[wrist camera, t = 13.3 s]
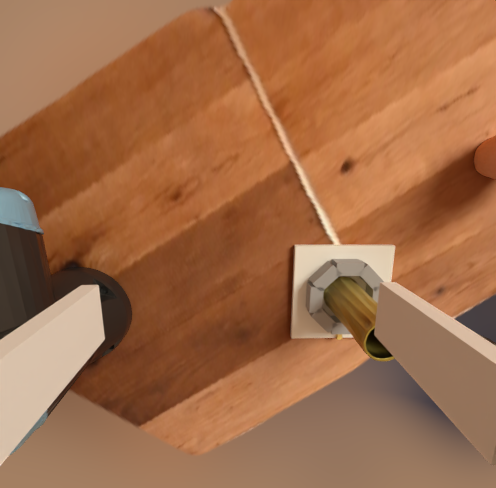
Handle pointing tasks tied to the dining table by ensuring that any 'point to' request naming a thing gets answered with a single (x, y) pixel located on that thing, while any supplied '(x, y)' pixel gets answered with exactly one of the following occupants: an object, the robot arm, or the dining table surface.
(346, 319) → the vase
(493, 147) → the potted plant
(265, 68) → the dining table surface
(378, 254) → the socket
